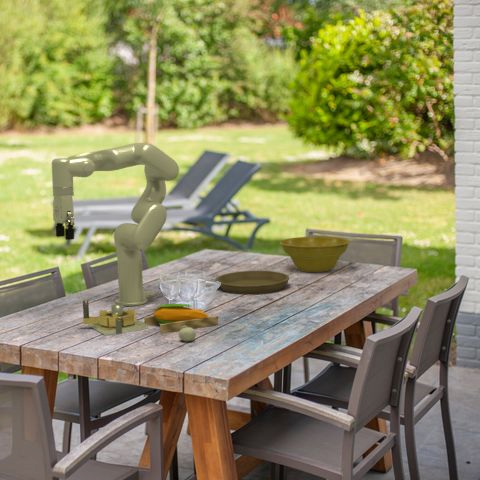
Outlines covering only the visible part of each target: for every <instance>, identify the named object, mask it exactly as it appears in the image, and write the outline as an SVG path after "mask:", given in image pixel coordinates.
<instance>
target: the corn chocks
mask: <svg viewBox="0 0 480 480" xmlns="http://www.w3.org/2000/svg"><path fill="white" fill-rule="evenodd" d="M196 310H200V311H202V309H200V308H198V309H197V308H196ZM143 318H144V320H143V322H144V323H146V324H148V327H150V326H155V325H159V333H160V334H161V335H163V334H169V333H175V332H179V331H180V330H181V329H183V328H186V327H183V328H182V326H184V325H185V326H187V327H190V328H192V329H194V330H195V329H199V328H205V327H212V326H213V327H214V326H218V325H219V316H218V315H212V316H207V318H204V319H192V320H185V321H179V322H172V323H166V324H164V323H161V322H159V321H158V320H156V319H155V317H154V315H151V316H144V317H143Z"/></svg>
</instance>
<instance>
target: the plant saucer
mask: <svg viewBox="0 0 480 480" xmlns="http://www.w3.org/2000/svg"><path fill="white" fill-rule="evenodd" d="M214 281H215V282H216V281H219V282H221V286H219V287H220V288H221V290H222V291H224V292H228V293H233V294H241V295H243V294H244V295H245V294H247V295H251V294H252V295H253V294H254V295H255V294H267V293H273V292H277V291H281V290H282V289H283V288H285V286H286V284H288V282H289V281H290V276H289V275H288V274H286V273H284V272H278V271H273V270H272V271H271V270H244V271H243V270H242V271H233V272H229V273H225V274H224V273H223V274H220V275H219V276H217V277H215V280H214Z"/></svg>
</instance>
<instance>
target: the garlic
mask: <svg viewBox="0 0 480 480" xmlns="http://www.w3.org/2000/svg"><path fill="white" fill-rule="evenodd" d="M183 327H186V328H183ZM182 328H183V329H181V330H180V331H178V338H179V339H180V340H181V341H183V342H188V343H189V342H192V341H194V340H195V339H196V337H197V336H196V335H197V334H196V331H195V328H194V329H192V328H190V327H187V326H185V325H184V326H182Z"/></svg>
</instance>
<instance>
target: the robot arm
mask: <svg viewBox="0 0 480 480" xmlns="http://www.w3.org/2000/svg"><path fill="white" fill-rule="evenodd" d="M140 165H141V166H144V168H143V170H144V176H145V178H146V179H145V181H146V186H145V188H144V189H143V192H142V194H141V195H140V197H139V199H137V202H136V203H135V205H134V206H133V208H132V209H131V213H130V218H131V220H132V221H133V222H134V223H131V222H124V223H121V224H119V225H118V226H117V227H115V230H114V231H113V232H114V233H113V241H114V245H115V249H116V256H117V257H116V260H117V278H118V280H117V282H118V298H117V299H115V301H114V302H115V303H114V304H122V305H123V307H127V306H128V307H130V306H132V307H134V306H141V305H145V304H147V303H148V297H154V296H156V292H155V290H147V291H146V290H144V284H143V282H144V281H143V280H144V279H143V259H142V258H143V257H142V252H141V251H143V250H146V249H148V248H149V247H150V246H151V245H152V244H153V243H154V241H155V239H156V238H157V237H158V235H159V233H160V231H161V230H162V228H163V227H164V225H165V224H166V221H167V218H168V217H167V215H168V214H167V213H168V212H167V209H166V207H165V205H163V204H162V203H163V202H164V200H165V199H166V196H167V186H166V181H167V182H170V181H174V180H175V179H176V178H178V176H179V173H180V168H179V165H178V162H176V160H175V159H174V158H172V157H171V156H170V155H168V154H167V153H165V152H164V151H163V150H161V149H160V148H159V147H158V146H156V145H154V144H152V143H148V142H146V143H144V142H135V143H130V144H125V145H121V146H120V145H119V146H116V147H111V148H107V149H106V148H105V149H101V150H96V151H90V152H83V153H79V154H75V155H70V156H68V157H66V158H65V157H63V158H61V157H60V158H53V159H52V161H51V178H52V196H53V203H52V204H53V205H52V206H53V207H52V218H53V221H54V222H55V224H54V225H55V237H57V238H59V237H65V240H66V241H68V240H74V239H75V211H74V209H75V208H74V201H73V196H74V178H88V177H90V176H92V175H93V174H94V172H113V171H119V170H122V169H125V168H129V167H130V168H131V167H134V166H135V167H136V166H140Z"/></svg>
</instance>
